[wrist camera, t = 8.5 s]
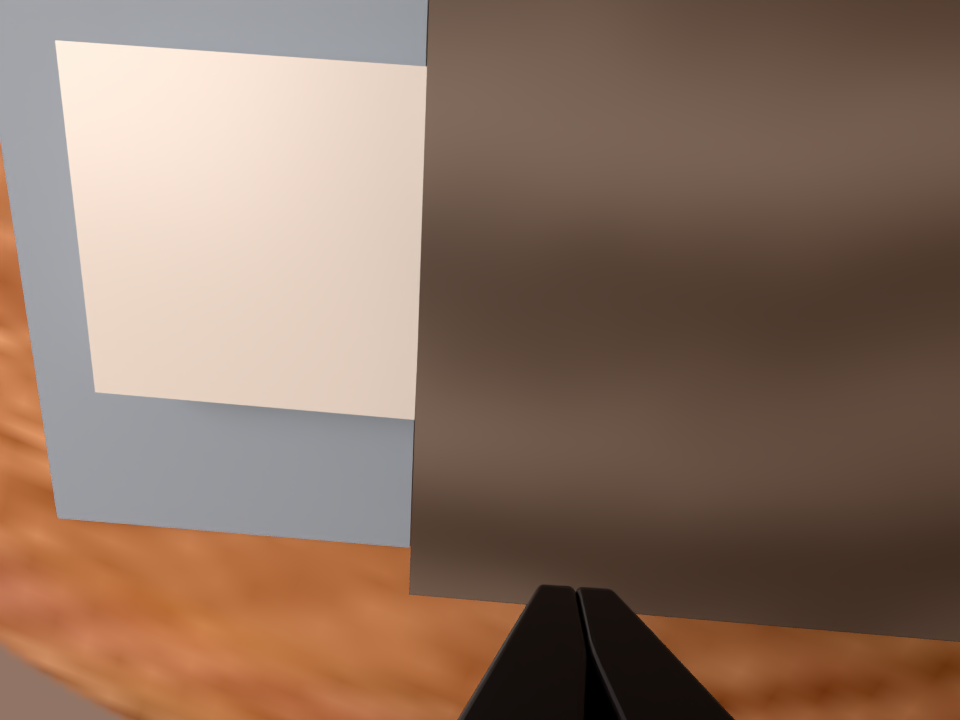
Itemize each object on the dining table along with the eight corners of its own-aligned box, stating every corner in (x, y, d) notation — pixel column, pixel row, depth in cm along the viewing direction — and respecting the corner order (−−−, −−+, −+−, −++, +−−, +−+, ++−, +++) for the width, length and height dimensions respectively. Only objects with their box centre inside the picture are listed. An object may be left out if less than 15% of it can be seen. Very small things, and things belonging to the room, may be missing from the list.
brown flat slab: (892, 549, 20) (979, 643, 16) (429, 511, 21) (409, 594, 17) (1067, -58, 15) (1249, -124, 12) (454, -90, 16) (434, -164, 12)
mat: (412, 538, 21) (409, 547, 21) (67, 509, 21) (57, 518, 21) (435, -142, 15) (432, -151, 15) (-31, -165, 16) (-48, -175, 15)
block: (427, 384, 19) (414, 419, 17) (147, 361, 19) (94, 392, 17) (442, 77, 16) (429, 66, 14) (120, 54, 17) (55, 40, 14)
